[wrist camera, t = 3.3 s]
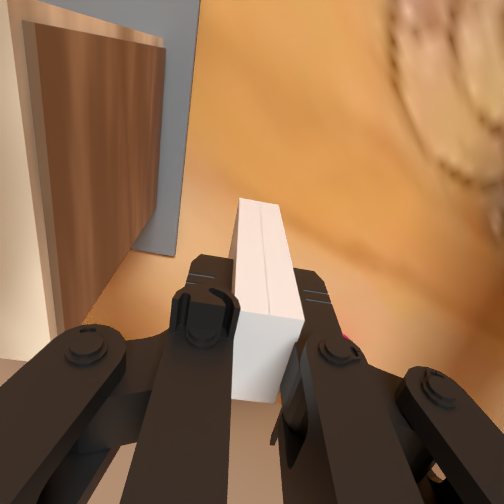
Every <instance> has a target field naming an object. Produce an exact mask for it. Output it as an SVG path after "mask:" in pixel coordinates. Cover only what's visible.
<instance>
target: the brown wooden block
mask: <svg viewBox="0 0 504 504" xmlns="http://www.w3.org/2000/svg"><path fill="white" fill-rule="evenodd" d="M163 43H164V39H163V38H160V37H156V36H153V35H150V34H146V33H143V32H140V31H137V30H133V29H130V28H127V27H123V26H120V25H117V24H113V23H110V22H107V21H104V20H100V19H97V18H94V17H90V16H87V15H84V14H80V13H77V12H74V11H71V10H67V9H64V8H61V7H57V6H54V5H51V4H47V3H44V2H41V1H38V0H0V358H5V359H12V360H20V361H29V360H30V359H32V358H33V357H34V356H35V355H36V354H37V353H38V352H39V351H40V350H42V349H43V348H44V347H45V346H46V345H47V344H48V343H49V342H50V341H52V340H53V339H54V338H55V337H57V336H58V335H60V334H61V333H63V332H64V331H66V330H68V329H71V328H74V327H77V326H80V325H81V324H82V322H83V321H84V319H85V318H86V316H87V314H88V313H89V311H90V310H91V308H92V307H93V305H94V304H95V302H96V300H97V299H98V297H99V296H100V294H101V293H102V291H103V290H104V288H105V287H106V285H107V283H108V282H109V280H110V279H111V277H112V276H113V274H114V273H115V271H116V269H117V268H118V266H119V265H120V263H121V262H122V260H123V259H124V257H125V256H126V254H127V252H128V251H129V249H130V248H131V246H132V245H133V243H134V242H135V240H136V238H137V237H138V235H139V234H140V232H141V231H142V229H143V228H144V226H145V225H146V223H147V221H148V220H149V218H150V217H151V215H152V214H153V212H154V211H155V209H156V204H157V188H158V172H159V156H160V140H161V124H162V108H163V92H164V76H165V60H166V48H163Z"/></svg>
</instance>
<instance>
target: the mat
mask: <svg viewBox="0 0 504 504" xmlns="http://www.w3.org/2000/svg"><path fill="white" fill-rule="evenodd" d="M38 1H41V2H44V3H47V4H51V5H54V6H57V7H61V8H64V9H67V10H71V11H74V12H77V13H80V14H84V15H87V16H90V17H94V18H97V19H100V20H104V21H107V22H110V23H113V24H117V25H120V26H123V27H127V28H130V29H133V30H137V31H140V32H143V33H146V34H150V35H153V36H156V37H160V38H163V39H164V43H163V48H166V60H165V76H164V92H163V108H162V124H161V140H160V156H159V172H158V188H157V204H156V209H155V211H154V212H153V214H152V215H151V217H150V218H149V220H148V221H147V223H146V225H145V226H144V228H143V229H142V231H141V232H140V234H139V235H138V237H137V238H136V240H135V242H134V243H133V245H132V246H131V248H130V249H132V250H138V251H144V252H150V253H156V254H162V255H169V256H175V253H176V243H177V233H178V223H179V213H180V203H181V193H182V182H183V172H184V162H185V152H186V142H187V132H188V122H189V112H190V102H191V92H192V81H193V71H194V61H195V51H196V41H197V31H198V21H199V11H200V1H201V0H38Z"/></svg>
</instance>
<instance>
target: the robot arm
mask: <svg viewBox="0 0 504 504" xmlns="http://www.w3.org/2000/svg"><path fill="white" fill-rule="evenodd" d="M327 294H328V292H327V289H326V286H325V284H324V281H323V280H322V279H321V278H320V277H319V276H318V275H317V274H316V273H315V272H314V271H310V270H304V269H297V268H293V266H292V262H291V257H290V253H289V249H288V244H287V240H286V236H285V231H284V227H283V222H282V218H281V214H280V209H279V205H276V204H271V203H265V202H260V201H254V200H249V199H243V198H240V199H239V204H238V209H237V215H236V220H235V225H234V230H233V236H232V241H231V246H230V252H229V257H228V258H222V257H216V256H210V255H204V254H200V255H199V256H198V257H197V258H196V259H194V260H193V261H192V262H191V266H190V270H189V274H188V277H187V280H186V284H185V287H183V288H182V289H180V290H178V291H177V292H176V294H175V295H174V297H173V298H172V306H171V316H170V326H169V328H168V329H167V330H165V331H164V332H162V333H161V334H158V335H156V336H153V337H149V338H144V339H136V340H127V341H125V339H124V338H123V336H122V335H121V334H120V332H119V331H117V330H115V329H113V328H111V327H109V326H105V325H98V324H90V325H80V326H77V327H74V328H71V329H68V330H66V331H64V332H63V333H61V334H60V335H58V336H57V337H55V338H54V339H53V340H52V341H50V342H49V343H48V344H47V345H46V346H45V347H44V348H43V349H42V350H40V351H39V352H38V353H37V354H36V355H35V356H34V357H33V358H32V359H30V360H29V361H28V362H27V363H26V364H25V365H24V366H23V367H22V368H21V369H19V370H18V371H17V372H16V373H15V374H14V375H13V376H12V377H11V378H9V379H8V380H7V382H5V383H4V384H3V385H2V386H1V387H0V504H87V502H88V500H89V499H90V497H91V495H92V494H93V492H94V490H95V488H96V487H97V485H98V483H99V482H100V480H101V479H102V477H103V475H104V473H105V472H106V470H107V468H108V467H109V465H110V463H111V462H112V460H113V458H114V457H115V455H116V453H117V451H118V450H119V448H120V446H121V445H126V444H131V443H135V442H137V445H136V448H135V452H134V455H133V459H132V462H131V466H130V469H129V473H128V476H127V480H126V483H125V487H124V490H123V494H122V497H121V501H120V504H227V489H228V465H229V440H230V417H231V415H230V414H231V399H238V400H246V401H255V402H263V403H272V404H275V403H276V400H277V397H278V395H279V392H281V401H282V408H281V411H280V413H279V416H278V419H277V422H276V424H275V427H274V430H273V432H272V435H271V440H270V445H275V442H276V440H277V438H278V442H279V455H280V466H281V478H282V491H283V503H284V504H504V434H503V433H502V432H501V431H500V430H499V428H498V427H497V426H496V425H495V424H494V423H493V422H492V421H491V420H490V418H489V417H488V416H487V415H486V414H485V413H484V412H483V411H482V410H481V408H480V407H479V406H478V405H477V404H476V403H475V402H474V401H473V399H472V398H471V397H470V396H469V395H468V394H467V393H466V392H465V391H464V389H462V388H461V387H460V386H459V385H458V384H457V383H456V382H455V381H454V380H452V379H451V378H449V377H448V376H446V375H444V374H443V373H441V372H439V371H437V370H434V369H431V368H429V367H420V366H416V367H413V368H410V369H409V370H408V371H407V373H406V375H405V376H404V378H401V377H398V376H396V375H393V374H390V373H388V372H385V371H383V370H380V369H378V368H375V367H373V366H371V365H369V364H368V363H367V360H366V358H365V356H364V354H363V353H362V351H361V350H360V348H359V347H358V346H357V345H356V344H354V343H353V342H352V341H351V340H349V339H347V338H346V337H344V336H343V334H342V331H341V328H340V326H339V323H338V320H337V317H336V314H335V312H334V309H333V306H332V304H331V300H330V298H329V295H327ZM435 463H437V464H438V466H439V467H440V469H441V470H442V472H443V473H444V475H445V476H446V479H445V480H441V479H440V478H439V477H437V476H436V474H435V473H434V472H433V471H432V469H431V468H432V467H433V466H434V465H435Z"/></svg>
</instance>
